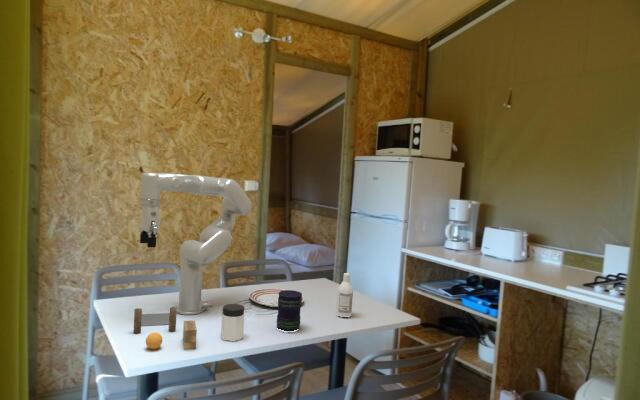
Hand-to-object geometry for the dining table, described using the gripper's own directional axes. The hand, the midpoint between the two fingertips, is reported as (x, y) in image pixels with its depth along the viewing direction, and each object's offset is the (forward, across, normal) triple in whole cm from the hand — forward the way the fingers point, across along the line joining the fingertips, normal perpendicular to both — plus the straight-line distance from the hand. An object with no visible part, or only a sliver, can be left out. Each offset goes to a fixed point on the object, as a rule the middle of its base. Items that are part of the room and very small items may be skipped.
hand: (147, 245), depth 179 cm
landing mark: (+31, -1, -4) cm, 32 cm away
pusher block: (+31, -32, -7) cm, 45 cm away
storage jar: (+31, -35, -48) cm, 67 cm away
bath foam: (+31, -34, -80) cm, 92 cm away
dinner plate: (+31, -2, -64) cm, 71 cm away
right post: (+31, -16, -6) cm, 36 cm away
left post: (+31, -12, +6) cm, 34 cm away
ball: (+28, -30, +5) cm, 41 cm away
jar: (+31, -33, -23) cm, 51 cm away
